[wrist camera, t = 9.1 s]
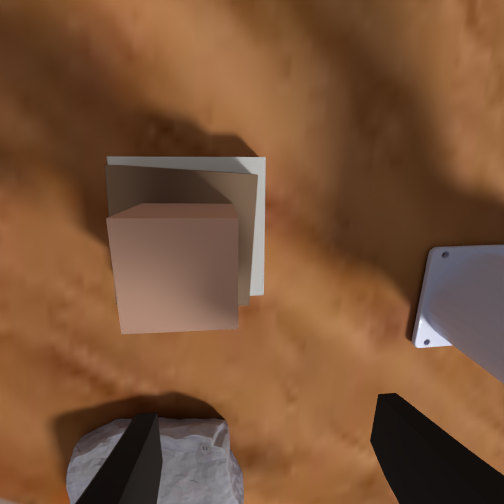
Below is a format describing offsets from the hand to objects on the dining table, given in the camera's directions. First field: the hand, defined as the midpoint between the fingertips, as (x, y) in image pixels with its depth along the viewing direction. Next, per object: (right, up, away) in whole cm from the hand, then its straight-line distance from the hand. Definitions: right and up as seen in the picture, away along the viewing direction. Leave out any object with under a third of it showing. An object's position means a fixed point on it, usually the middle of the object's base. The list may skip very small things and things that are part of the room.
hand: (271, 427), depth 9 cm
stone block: (-8, -10, +14) cm, 19 cm away
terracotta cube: (-4, +6, +4) cm, 8 cm away
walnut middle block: (-4, +7, +6) cm, 10 cm away
